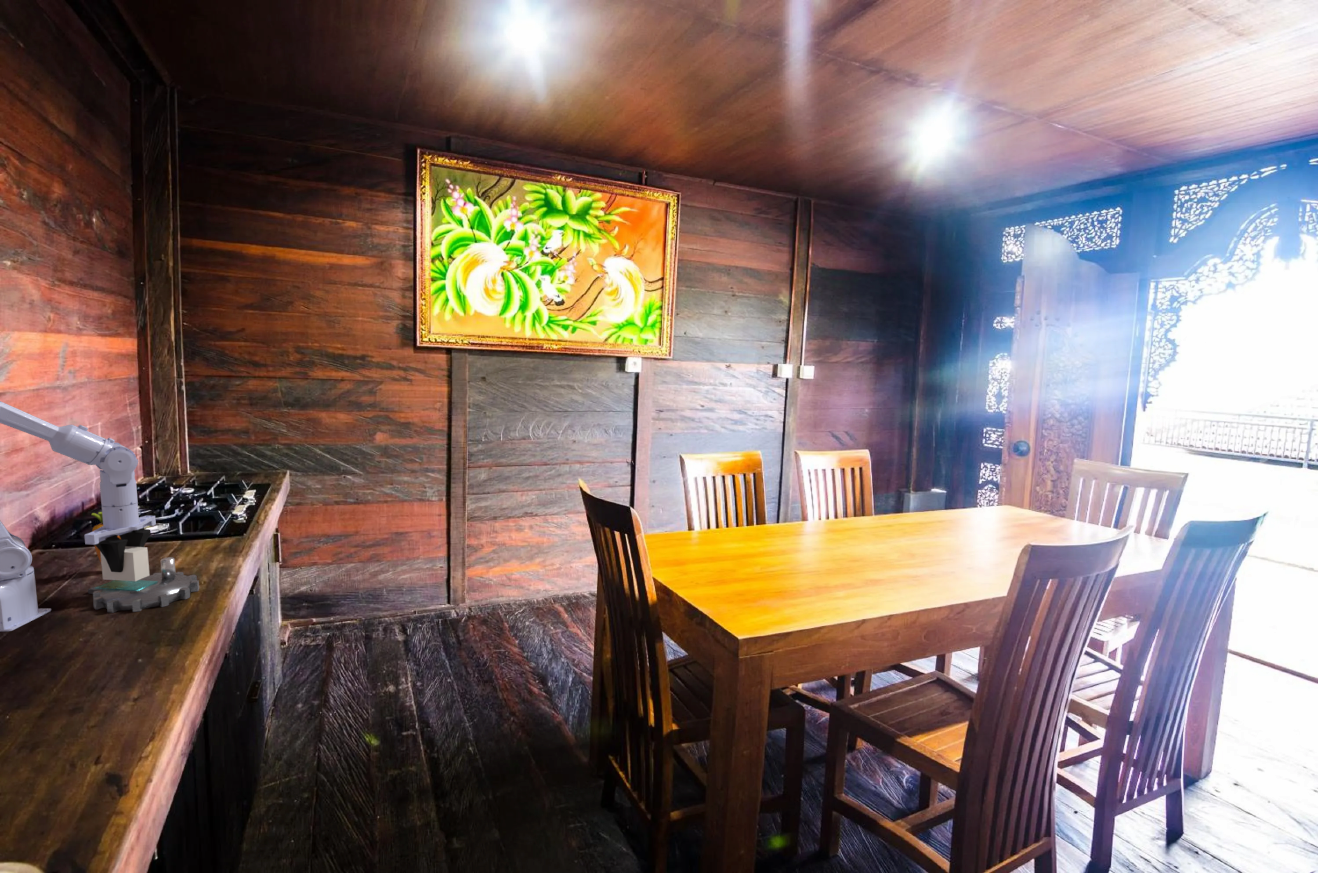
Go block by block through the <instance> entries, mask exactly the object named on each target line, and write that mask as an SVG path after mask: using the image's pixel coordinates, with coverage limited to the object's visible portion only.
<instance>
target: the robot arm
mask: <svg viewBox="0 0 1318 873" xmlns="http://www.w3.org/2000/svg"><path fill="white" fill-rule="evenodd" d="M0 424H2V425H4V426H7V427H9V428H12V429H15V430H17V431H20V432H24V433H26V434H29V435H31V436H34V437H36V438H39V439H42V440H45V441H48V443H49V444H50V445H49V446H50V449H51V450H52V451H53V452H55V453H58V454H60V455H63V456H64V457H65V456H66V457H67V458H70V459H72V460H75V461H78V462H81V463H83V464H85V465H89V466H96V467H97V468H98V469H99V480H100V482H99V493H100V502H101V503H100V504H101V512H102V516H103V526H102V527H100V528H98V529H96V530H95V531H93V530H92V531H93V532H92V531H91V532H87V533H85V534H84V543H85V545H93V546H94V547H95V546H96V547H97V548H98V549H99V550H100V551H101V553H102V554H103V556H104V557H105V559H106V561H107V563H108V565H109V568H110V570H111V572H122V571H123V567H124V551H125V546H130V547H145V546H146V543H147V541H148V539H149V538H150V535H152V533H151V529H148V528H147V529H145V528H146V527H150V526H151V527H153V526H156V524H157V523H156V515H144V516H140V515H139V505H138V504H139V502H138V491H137V490H138V488H137V487H138V486H137V480H136V476H135V475H136V472H135V470H136V468H137V467H138V464H139V459H138V458H137V455H136V454H135V453H134V451H133V450H131V449H129V448H128V447H126V446H124V445H122V444H121V443H119V442H115V441H116V439H113V438H111V437H108V438H104V437H102V436H100V435H97V434H95V433H93V432H90V431H89V427H87V426H84V425H82V424H79V425H78V426H76V425H74V424H67V425H63V426H58V425H56V424H53V423H51V422H48V421H46V420H44V419H42V418H40V417H37V416H35V415H32V414H30V413H28V412H25V411H23V410H22V409H19V408H17V407H14V406H12V405H10V404H8V403H6V402H3V401H1V400H0ZM139 516H140V517H139ZM118 536H120V538H121V539H120V538H118ZM32 561H33V556H32V553H31V551H30V550H29V549H28V548H27V547H26V543H25V542H24V540H23V539H22V538H20V537H19V536H17V535H15V534H13V533H12V532H10V531H9V530H8V529H7V527H6V526H5V525H4V524H3V522H2V521H1V520H0V632H12V631H14V630H16V629H19V628H20V627H22V626H24V625H26V624H28V623H30V622H31V621H34V620H36V619H38V618H40V617H41V616H42V617H43V616H44V615H46V614H48V613H50V612H51V611H52V608H39V607H38V605H39V604H38V596H37V587H36V578H35V569H34V568H35V567H34V566H33V565H31V564H32Z"/></svg>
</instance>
